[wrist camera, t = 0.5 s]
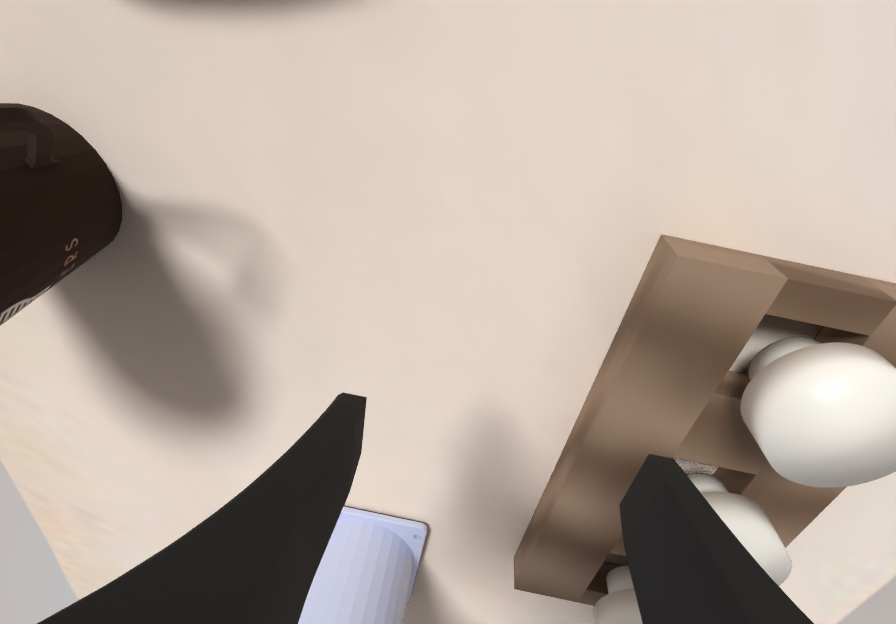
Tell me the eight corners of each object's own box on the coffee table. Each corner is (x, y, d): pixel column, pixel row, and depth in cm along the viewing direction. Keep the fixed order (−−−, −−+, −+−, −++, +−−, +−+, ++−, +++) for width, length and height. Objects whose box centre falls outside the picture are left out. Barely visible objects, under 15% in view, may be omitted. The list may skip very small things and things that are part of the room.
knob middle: (718, 531, 24) (752, 610, 20) (627, 512, 24) (646, 588, 20) (769, 470, 21) (817, 550, 18) (667, 449, 21) (696, 524, 18)
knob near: (810, 421, 19) (872, 499, 16) (699, 398, 19) (738, 471, 16) (888, 329, 17) (979, 399, 14) (760, 302, 17) (821, 366, 14)
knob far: (654, 608, 28) (674, 683, 25) (577, 591, 28) (586, 665, 25) (690, 565, 25) (717, 643, 22) (605, 547, 25) (619, 622, 22)
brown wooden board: (693, 594, 30) (704, 628, 28) (513, 557, 30) (514, 589, 28) (961, 297, 18) (1008, 324, 16) (661, 234, 18) (677, 255, 16)
